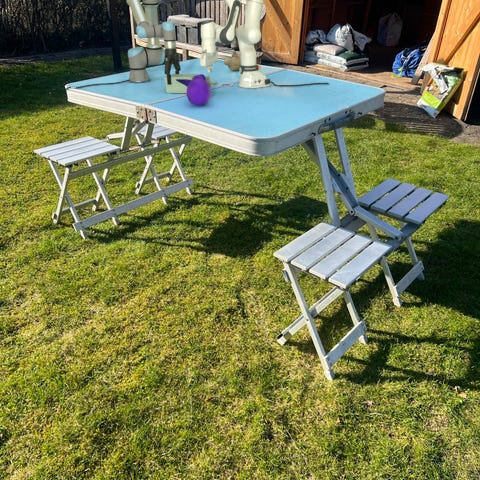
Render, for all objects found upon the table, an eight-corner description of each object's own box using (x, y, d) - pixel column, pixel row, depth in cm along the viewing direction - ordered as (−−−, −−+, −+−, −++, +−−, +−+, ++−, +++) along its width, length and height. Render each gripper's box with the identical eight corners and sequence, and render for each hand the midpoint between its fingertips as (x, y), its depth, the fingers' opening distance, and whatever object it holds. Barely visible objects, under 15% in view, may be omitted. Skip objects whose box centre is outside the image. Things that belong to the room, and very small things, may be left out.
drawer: (219, 88, 300) (218, 75, 296) (213, 91, 292) (212, 78, 288) (186, 88, 308) (184, 75, 304) (179, 91, 300) (177, 78, 296)
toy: (199, 96, 289) (211, 111, 269) (173, 92, 282) (183, 107, 261) (204, 71, 281) (217, 85, 261) (177, 66, 274) (188, 79, 253)
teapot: (227, 73, 361) (227, 53, 353) (221, 70, 369) (220, 51, 362) (250, 70, 370) (250, 50, 362) (243, 68, 378) (242, 49, 371)
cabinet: (200, 89, 306) (198, 74, 301) (193, 93, 297) (191, 77, 292) (174, 89, 312) (172, 74, 307) (166, 92, 303) (164, 77, 298)
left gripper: (166, 50, 282) (170, 86, 293) (183, 45, 301) (186, 79, 312) (156, 50, 284) (160, 86, 295) (173, 45, 304) (177, 79, 315)
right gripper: (206, 51, 275) (207, 75, 282) (219, 47, 292) (220, 69, 299) (197, 51, 277) (198, 74, 284) (210, 46, 293) (211, 69, 300)
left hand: (173, 82), depth 304 cm, fingers closed on cabinet, 11 cm apart
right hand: (209, 72), depth 291 cm, fingers closed
